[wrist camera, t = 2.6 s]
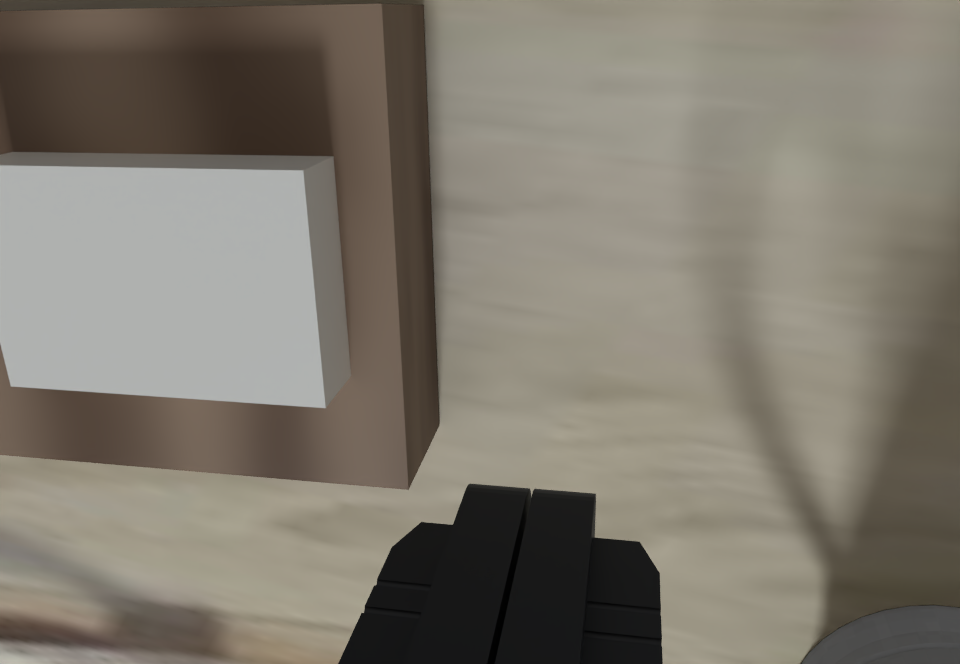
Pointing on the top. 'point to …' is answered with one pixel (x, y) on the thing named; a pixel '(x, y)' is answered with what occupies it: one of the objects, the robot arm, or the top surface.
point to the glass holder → (894, 638)
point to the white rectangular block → (173, 276)
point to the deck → (250, 131)
